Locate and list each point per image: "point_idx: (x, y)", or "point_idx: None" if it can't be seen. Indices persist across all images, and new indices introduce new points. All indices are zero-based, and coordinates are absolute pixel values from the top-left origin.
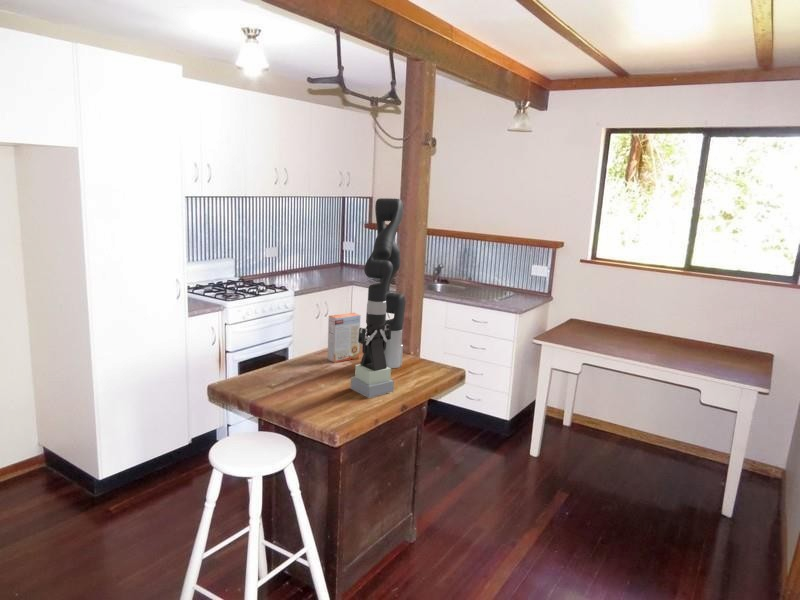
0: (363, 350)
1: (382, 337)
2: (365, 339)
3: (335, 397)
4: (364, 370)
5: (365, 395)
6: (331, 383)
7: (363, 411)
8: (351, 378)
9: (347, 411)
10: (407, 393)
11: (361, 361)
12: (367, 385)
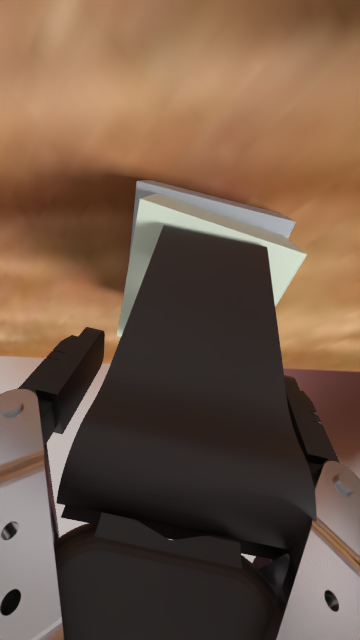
0: (62, 355)
1: (258, 561)
2: (12, 463)
3: (42, 207)
4: (124, 295)
5: None
6: (122, 26)
7: (62, 335)
8: (137, 185)
9: (24, 308)
10: None
11: (157, 242)
12: None
